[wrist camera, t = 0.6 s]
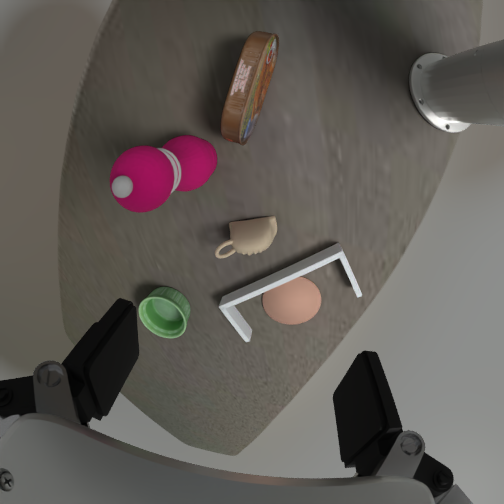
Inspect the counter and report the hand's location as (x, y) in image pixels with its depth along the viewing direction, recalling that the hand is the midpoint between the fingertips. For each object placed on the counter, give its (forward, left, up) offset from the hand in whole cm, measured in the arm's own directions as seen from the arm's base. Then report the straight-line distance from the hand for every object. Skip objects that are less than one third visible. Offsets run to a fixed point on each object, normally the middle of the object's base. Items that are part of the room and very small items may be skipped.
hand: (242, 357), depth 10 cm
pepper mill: (+7, -10, -30) cm, 32 cm away
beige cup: (+6, +3, -30) cm, 31 cm away
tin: (-5, -14, -30) cm, 33 cm away
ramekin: (+26, +8, -30) cm, 41 cm away
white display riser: (+6, +15, -30) cm, 34 cm away
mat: (+6, +17, -30) cm, 35 cm away
